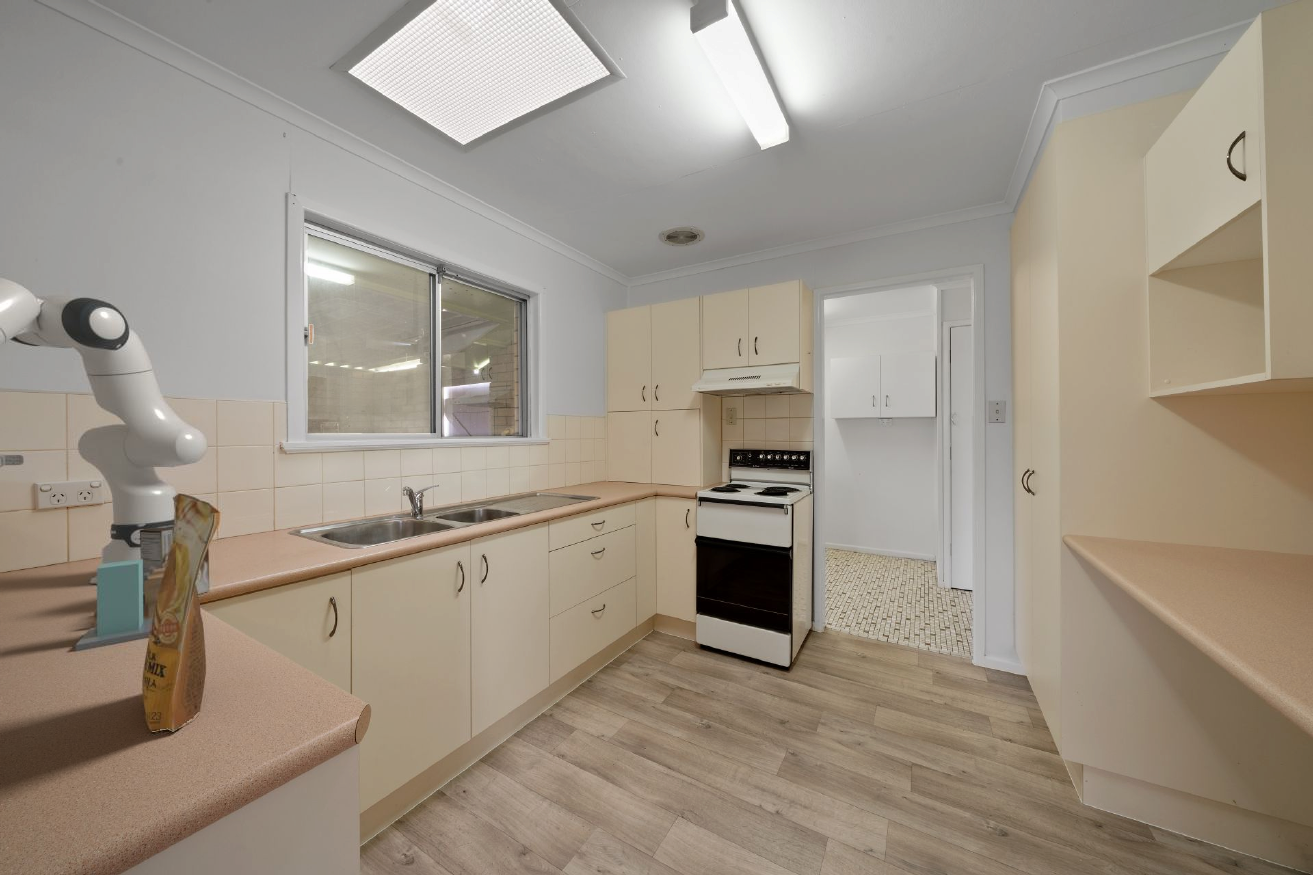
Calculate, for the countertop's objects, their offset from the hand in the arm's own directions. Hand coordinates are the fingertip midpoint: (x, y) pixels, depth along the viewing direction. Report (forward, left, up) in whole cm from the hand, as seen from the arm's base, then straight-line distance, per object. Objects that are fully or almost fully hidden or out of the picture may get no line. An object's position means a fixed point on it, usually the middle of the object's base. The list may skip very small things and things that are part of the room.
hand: (12, 461), depth 82 cm
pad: (+5, +13, -32) cm, 35 cm away
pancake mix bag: (+43, +24, -32) cm, 59 cm away
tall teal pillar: (+5, +13, -31) cm, 34 cm away
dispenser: (-7, +14, -32) cm, 36 cm away
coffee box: (-17, +18, -32) cm, 41 cm away
